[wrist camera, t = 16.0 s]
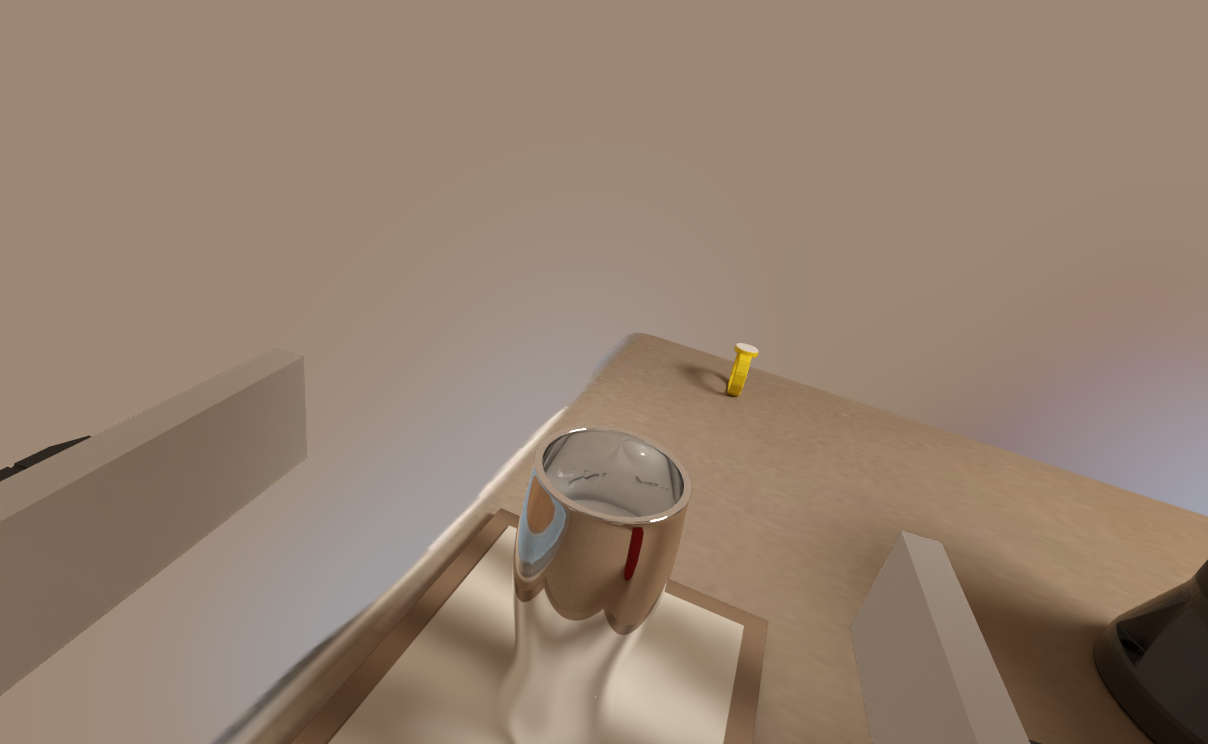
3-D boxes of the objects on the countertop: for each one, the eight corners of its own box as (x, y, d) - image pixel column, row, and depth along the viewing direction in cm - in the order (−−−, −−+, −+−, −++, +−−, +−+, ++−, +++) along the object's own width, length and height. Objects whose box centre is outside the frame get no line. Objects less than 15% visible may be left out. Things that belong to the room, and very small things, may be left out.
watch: (722, 380, 76) (736, 337, 73) (743, 386, 75) (758, 343, 73) (720, 397, 70) (735, 350, 68) (743, 403, 70) (759, 357, 68)
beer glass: (464, 679, 31) (497, 438, 24) (573, 627, 35) (626, 410, 29) (532, 805, 26) (596, 549, 20) (648, 728, 30) (732, 496, 24)
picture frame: (499, 516, 44) (501, 506, 43) (764, 629, 39) (769, 618, 39) (193, 865, 23) (190, 851, 22) (688, 1195, 18) (697, 1185, 18)
